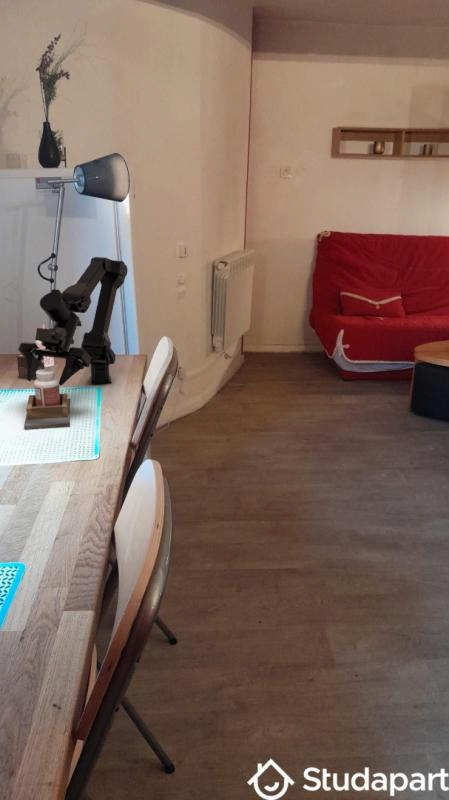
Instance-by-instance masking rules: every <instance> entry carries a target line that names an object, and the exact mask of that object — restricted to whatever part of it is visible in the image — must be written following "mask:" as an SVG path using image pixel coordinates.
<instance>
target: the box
mask: <svg viewBox="0 0 449 800" xmlns="http://www.w3.org/2000/svg"><path fill="white" fill-rule="evenodd" d="M16 361H17V371H18V378H19V379H24V380H25V379H26V380H27V360H26V358H25V357H24V356H23V355H22V354H21V353H20V354H18V355H16ZM39 361H40V362H41V364H40V366H39V367H38V369H37V371H38V370H41V369H46V367H44V358H43V357H42V359H41V360H39ZM36 379H38V378H37V377H36V373H35V375H34V377H33V378H32V380H34V381H35V380H36Z"/></svg>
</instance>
